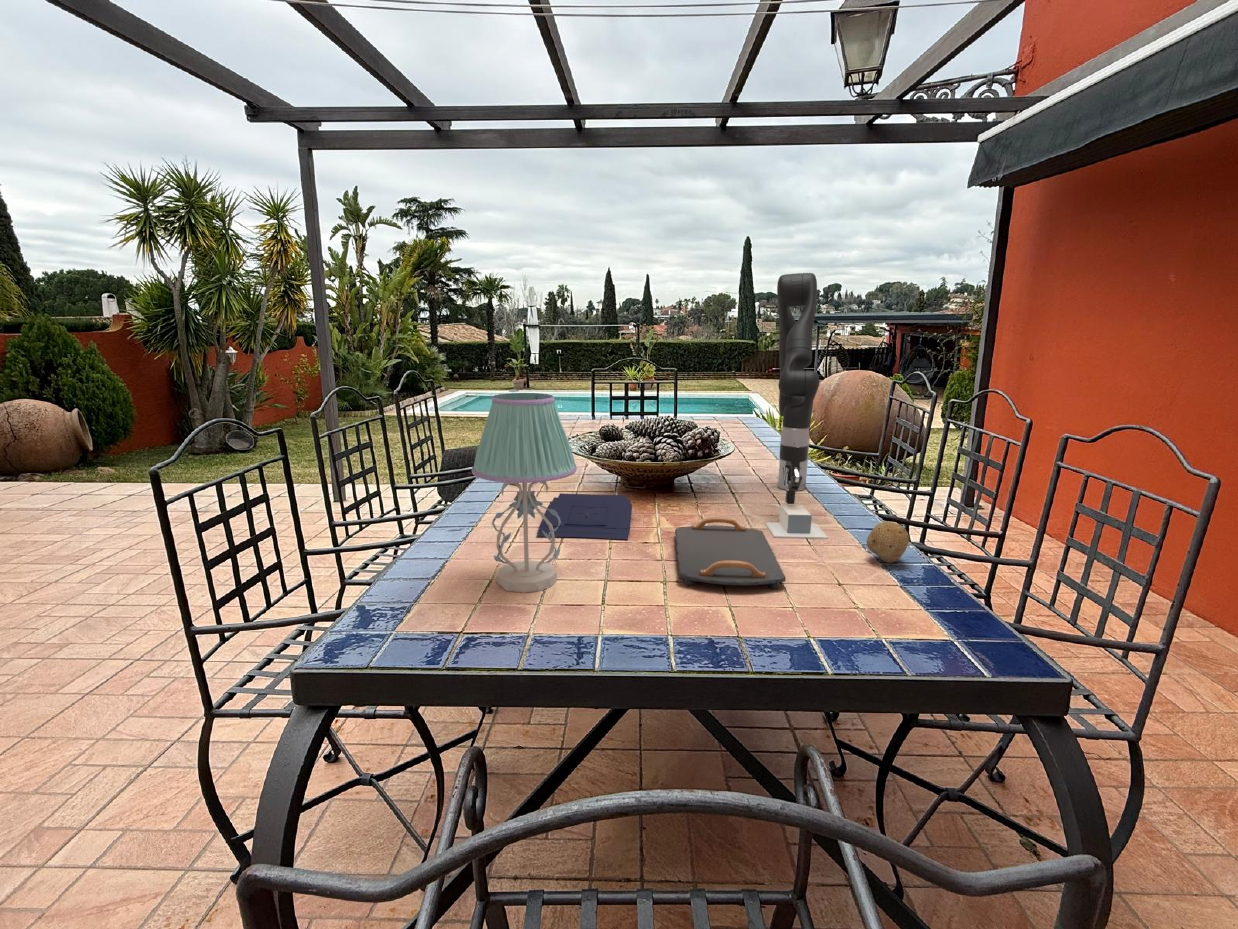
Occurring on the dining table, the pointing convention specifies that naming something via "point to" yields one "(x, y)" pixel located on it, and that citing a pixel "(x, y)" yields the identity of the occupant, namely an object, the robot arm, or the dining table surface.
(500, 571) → the table lamp
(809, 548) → the dining table surface
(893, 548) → the potato
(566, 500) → the dark blue flat slab
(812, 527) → the mat
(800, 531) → the block
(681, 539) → the serving board
